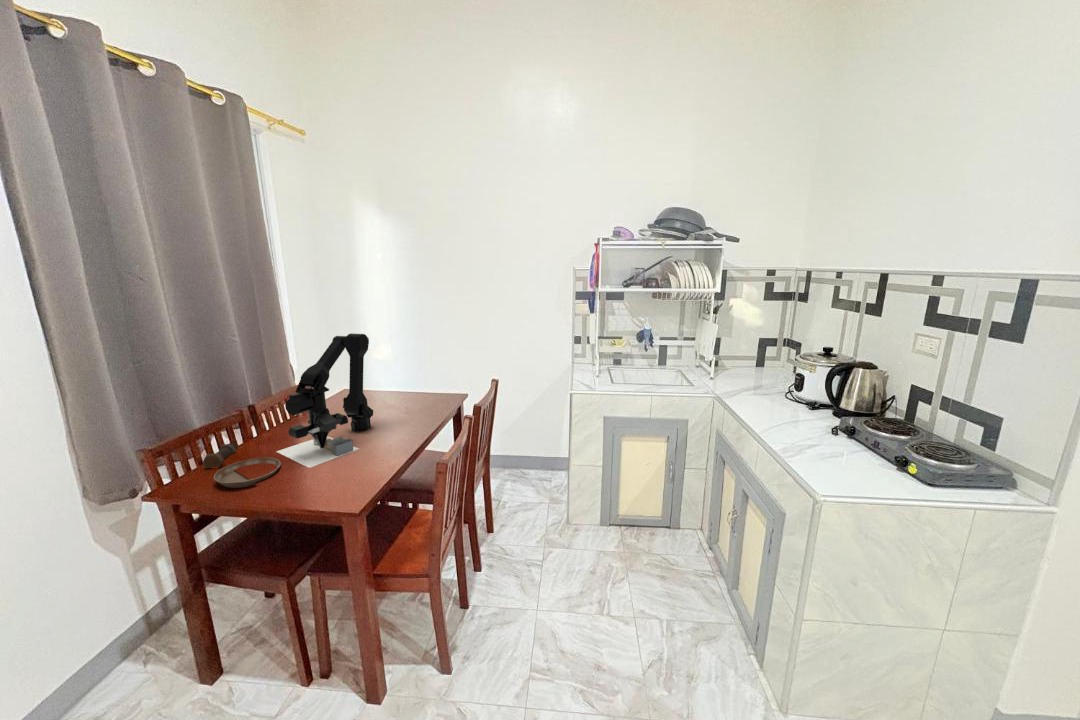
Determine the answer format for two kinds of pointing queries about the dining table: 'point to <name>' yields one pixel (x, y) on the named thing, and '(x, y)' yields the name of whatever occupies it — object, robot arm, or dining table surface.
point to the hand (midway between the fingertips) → (322, 447)
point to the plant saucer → (237, 480)
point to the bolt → (219, 455)
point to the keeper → (340, 446)
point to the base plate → (309, 453)
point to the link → (325, 443)
